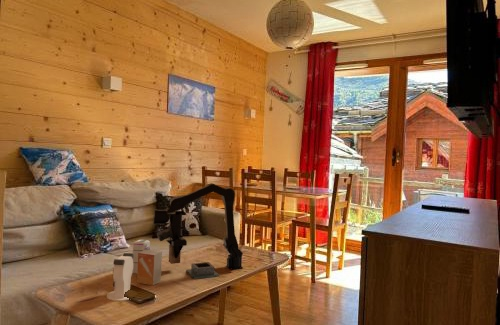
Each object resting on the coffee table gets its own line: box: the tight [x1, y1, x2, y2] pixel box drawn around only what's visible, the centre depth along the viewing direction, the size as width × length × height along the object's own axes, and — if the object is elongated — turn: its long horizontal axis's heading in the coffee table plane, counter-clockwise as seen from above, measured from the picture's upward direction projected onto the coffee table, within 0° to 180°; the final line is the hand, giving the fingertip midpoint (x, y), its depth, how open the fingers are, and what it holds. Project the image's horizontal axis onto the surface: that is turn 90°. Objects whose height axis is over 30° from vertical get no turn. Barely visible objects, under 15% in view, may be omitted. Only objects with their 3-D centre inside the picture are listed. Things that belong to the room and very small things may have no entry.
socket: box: [186, 261, 220, 280], centre depth 170 cm, size 12×12×4 cm
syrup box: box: [132, 239, 151, 274], centre depth 169 cm, size 6×6×14 cm
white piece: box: [106, 252, 134, 302], centre depth 141 cm, size 12×11×15 cm
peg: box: [168, 244, 182, 265], centre depth 173 cm, size 4×4×8 cm
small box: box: [136, 249, 163, 286], centre depth 156 cm, size 8×6×13 cm
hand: (174, 256), depth 173 cm, fingers closed on peg, 4 cm apart
